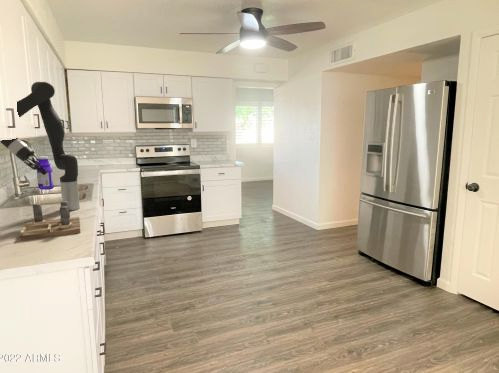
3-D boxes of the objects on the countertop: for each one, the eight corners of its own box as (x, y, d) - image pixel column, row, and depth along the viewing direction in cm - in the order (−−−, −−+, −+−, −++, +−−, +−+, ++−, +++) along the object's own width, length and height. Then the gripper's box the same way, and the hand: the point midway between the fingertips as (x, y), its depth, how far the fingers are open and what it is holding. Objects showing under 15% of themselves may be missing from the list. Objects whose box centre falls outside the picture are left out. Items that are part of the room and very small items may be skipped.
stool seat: (26, 226, 171) (24, 203, 169) (79, 220, 182) (77, 198, 180) (20, 240, 150) (17, 214, 148) (80, 232, 161) (78, 208, 159)
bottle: (56, 188, 182) (53, 155, 179) (50, 190, 176) (47, 156, 173) (42, 188, 182) (39, 155, 178) (36, 190, 176) (32, 156, 173)
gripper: (18, 146, 167) (47, 169, 170) (33, 144, 181) (59, 166, 184) (8, 156, 167) (36, 180, 171) (23, 154, 181) (49, 175, 185)
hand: (48, 172), depth 177 cm, fingers closed on bottle, 5 cm apart
